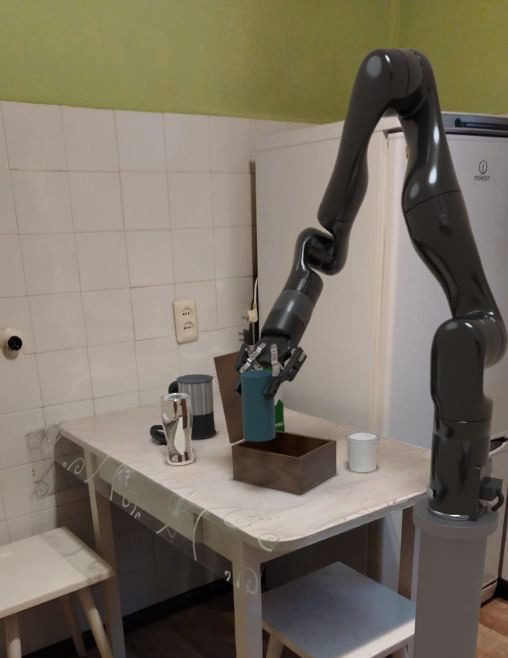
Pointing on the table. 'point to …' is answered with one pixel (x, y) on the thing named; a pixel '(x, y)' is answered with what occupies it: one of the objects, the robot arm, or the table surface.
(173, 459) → the beer glass
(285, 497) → the table surface
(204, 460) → the table surface
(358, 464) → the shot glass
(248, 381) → the can
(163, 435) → the milk frother
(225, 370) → the bin lid
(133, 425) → the table surface
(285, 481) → the bin
